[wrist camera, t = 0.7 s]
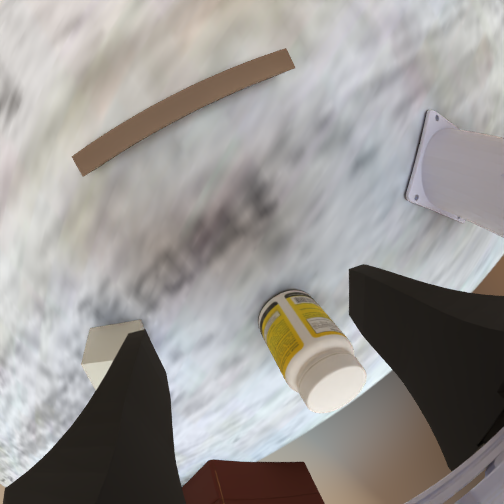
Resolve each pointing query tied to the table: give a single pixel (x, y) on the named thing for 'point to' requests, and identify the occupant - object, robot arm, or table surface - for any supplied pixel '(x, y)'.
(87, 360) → the cream ceramic block
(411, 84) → the table surface
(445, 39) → the table surface
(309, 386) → the supplement bottle
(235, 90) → the walnut rail
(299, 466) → the box
